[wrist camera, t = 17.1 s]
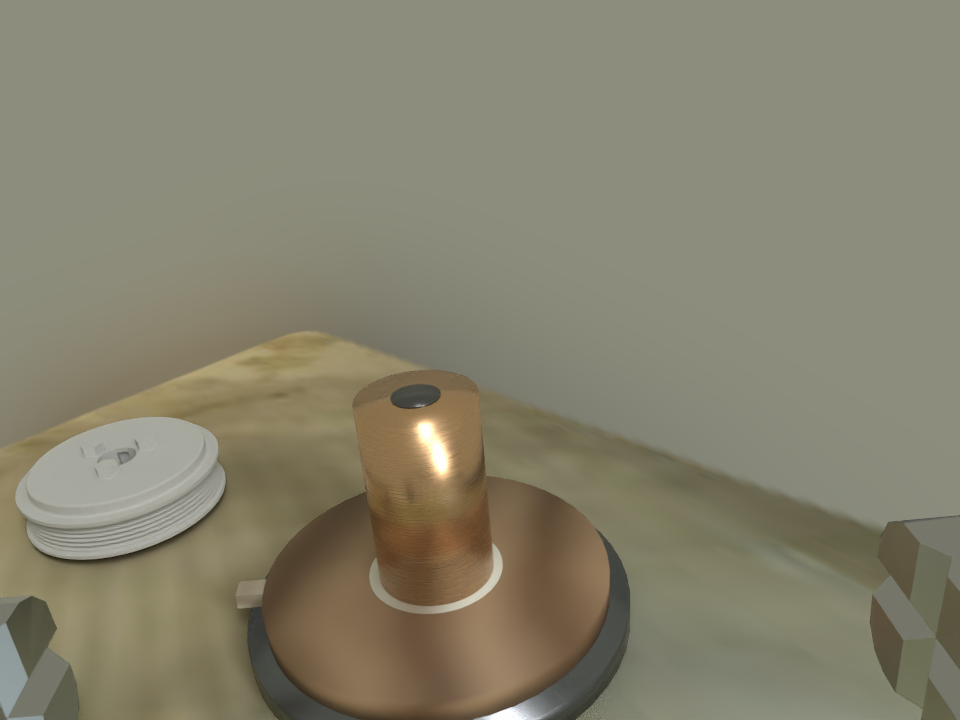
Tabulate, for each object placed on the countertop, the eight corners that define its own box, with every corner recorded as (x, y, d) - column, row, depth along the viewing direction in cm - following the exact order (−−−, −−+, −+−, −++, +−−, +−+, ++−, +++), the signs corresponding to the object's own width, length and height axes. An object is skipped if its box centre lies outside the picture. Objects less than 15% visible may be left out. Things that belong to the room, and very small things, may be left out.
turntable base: (597, 493, 56) (596, 473, 55) (670, 750, 38) (670, 725, 37) (287, 520, 56) (283, 501, 55) (211, 790, 38) (203, 766, 37)
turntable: (583, 482, 54) (582, 462, 54) (642, 707, 38) (642, 682, 37) (272, 509, 54) (268, 489, 54) (197, 746, 38) (190, 721, 37)
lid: (66, 474, 64) (47, 415, 62) (240, 452, 65) (226, 392, 63) (1, 585, 53) (-26, 516, 50) (212, 556, 53) (195, 487, 51)
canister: (492, 529, 48) (477, 363, 44) (496, 601, 43) (479, 420, 39) (384, 537, 48) (359, 373, 44) (374, 610, 43) (344, 430, 39)
